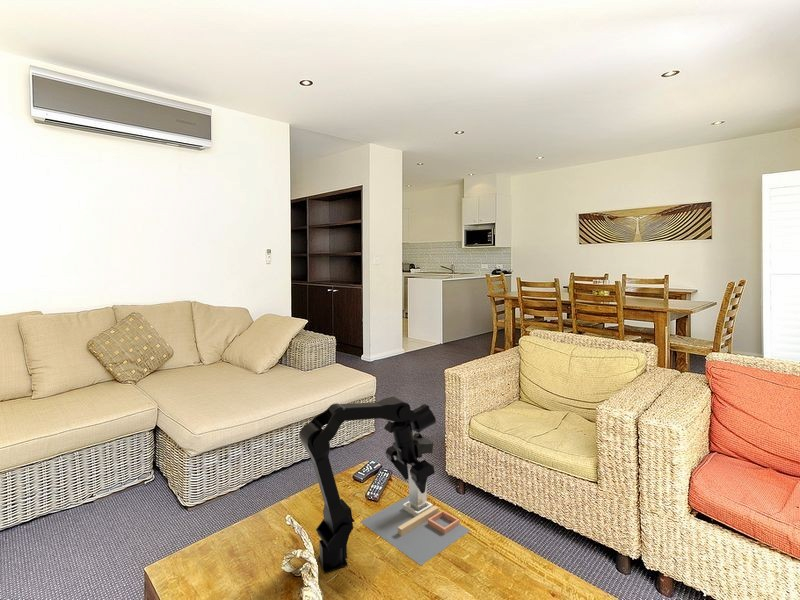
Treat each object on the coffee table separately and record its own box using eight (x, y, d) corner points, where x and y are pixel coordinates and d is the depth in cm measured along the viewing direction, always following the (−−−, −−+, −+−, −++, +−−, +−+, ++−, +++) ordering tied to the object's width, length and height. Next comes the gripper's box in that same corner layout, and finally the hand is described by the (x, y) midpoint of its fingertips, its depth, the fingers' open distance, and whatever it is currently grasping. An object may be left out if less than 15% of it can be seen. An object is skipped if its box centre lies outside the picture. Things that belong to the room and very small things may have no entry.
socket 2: (444, 534, 127) (444, 529, 127) (427, 524, 132) (427, 519, 132) (459, 524, 131) (459, 519, 131) (442, 514, 136) (442, 510, 136)
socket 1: (417, 517, 135) (417, 513, 135) (402, 508, 140) (402, 504, 140) (432, 509, 139) (432, 504, 139) (417, 500, 144) (417, 496, 144)
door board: (420, 570, 114) (420, 558, 114) (360, 526, 134) (359, 515, 133) (470, 535, 129) (470, 524, 128) (409, 499, 148) (409, 489, 147)
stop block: (417, 514, 137) (417, 474, 135) (409, 508, 140) (408, 470, 138) (426, 508, 140) (426, 470, 138) (417, 503, 142) (417, 465, 141)
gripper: (444, 438, 123) (455, 486, 126) (410, 418, 139) (419, 461, 142) (412, 455, 118) (423, 505, 121) (380, 432, 134) (390, 477, 137)
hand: (414, 485), depth 130 cm, fingers open, 9 cm apart
